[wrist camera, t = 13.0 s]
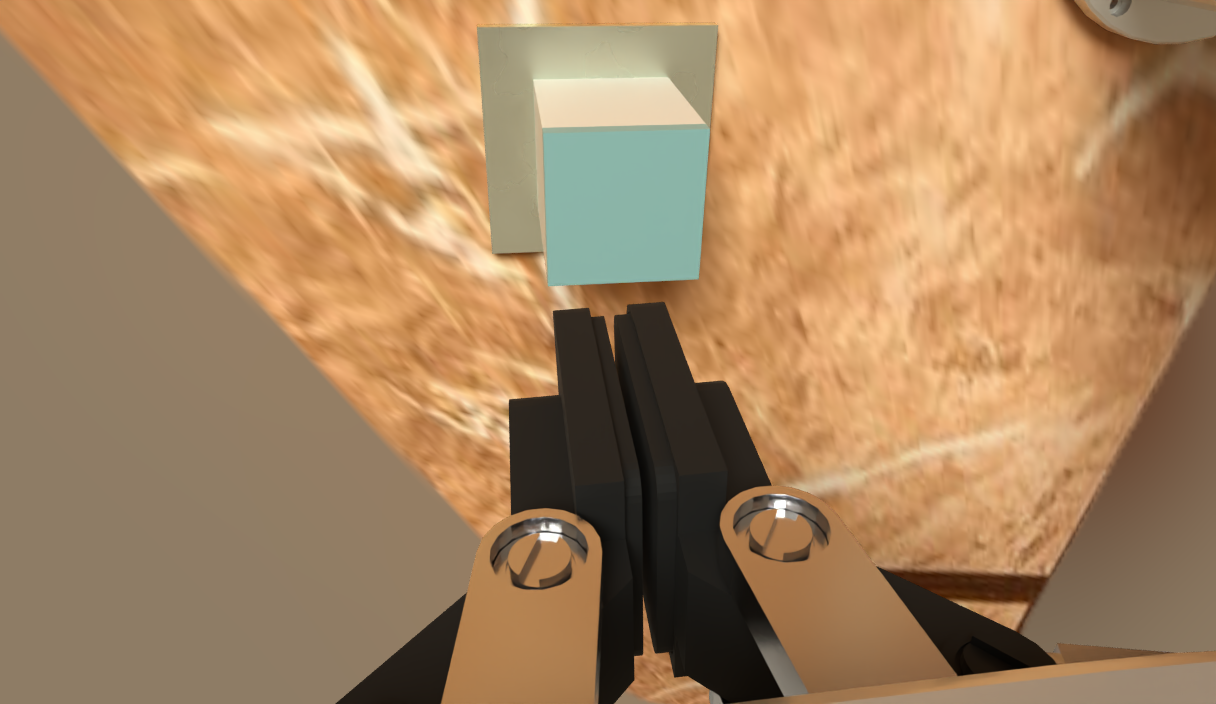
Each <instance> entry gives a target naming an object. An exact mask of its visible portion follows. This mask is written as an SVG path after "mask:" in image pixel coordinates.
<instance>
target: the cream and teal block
mask: <svg viewBox="0 0 1216 704" xmlns="http://www.w3.org/2000/svg"><path fill="white" fill-rule="evenodd" d="M533 89H534V116H535V143H536V170H537V197H538V213H539V221H540V228H541V236H542V244H543V251H544V259H545V266H546V274H547V282H548V286H563V285H585V284H606V283H628V282H650V281H672V280H693V279H699V268H700V255H701V242H702V229H703V216H704V203H705V189H706V176H707V163H708V150H709V137H710V128H709V127H708V126H707V125H706V123H705V122H704V121H703V120H702V119H701V117H700V116H699V115H698V114H697V112H696V111H695V110H694V109H693V107H692V106H691V105H690V104H689V102H688V101H687V100H686V99H685V98H684V96H683V95H682V94H681V93H680V91H679V90H678V89H677V88H676V86H675V85H674V84H673V83H672V81H671V80H670V79H669V78H668V77H649V78H593V79H537V80H533Z"/></svg>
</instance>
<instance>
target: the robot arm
mask: <svg viewBox="0 0 1216 704" xmlns="http://www.w3.org/2000/svg"><path fill="white" fill-rule="evenodd" d="M1074 1H1075V3H1076V4H1077V5H1078V6H1079V7H1080V9H1081V10H1082V11H1083V12H1084V14H1085V15H1086V16H1087V17H1089V18H1090V19H1092V20H1093V21H1094V22H1096V23H1097V24H1099V25H1100V26H1101V27H1103V28H1104V29H1106V30H1108V31H1110V32H1113V33H1116V34H1119V35H1121V36H1124V37H1127V38H1130V39H1134V40H1139V41H1143V42H1148V43H1152V44H1185V43H1190V42H1194V41H1199V40H1203V39H1208V38H1212V37H1215V36H1216V0H1074ZM553 320H554V335H555V348H556V362H557V376H558V390H559V395H555V396H543V397H532V398H521V399H509V433H510V483H511V516H509V517H507V518H505V519H504V520H502V521H500V522H499V523H497V524H496V525H494V526H493V527H492V528H491V529H490V530H489V531H488V532H487V534H486V535H485V536H484V537H483V538H482V541H481V543H480V545H479V547H478V550H477V552H476V556H475V561H474V565H473V569H472V573H471V578H470V582H469V587H468V591H467V593H466V594H465V595H463V596H462V597H461V598H460V599H459V600H458V601H456V602H455V603H454V604H453V605H452V606H450V607H449V608H448V609H447V610H446V611H445V612H443V613H442V614H441V615H440V616H439V617H437V618H436V619H435V620H434V621H433V622H431V623H430V624H429V625H428V626H427V627H426V628H424V629H423V630H422V631H421V632H420V633H419V634H417V635H416V636H415V637H414V638H413V639H411V640H410V641H409V642H408V643H407V644H406V645H404V646H403V647H402V648H401V649H400V650H398V651H397V652H396V653H395V654H394V655H392V656H391V657H390V658H389V659H388V660H387V661H385V662H384V663H383V664H382V665H381V666H379V668H377V669H376V670H375V671H374V672H372V673H371V674H370V675H369V676H368V677H366V678H365V679H364V680H363V681H362V682H361V683H359V684H358V685H357V686H356V687H355V688H354V689H352V690H351V691H350V692H349V693H348V694H346V695H345V696H344V697H343V698H342V699H340V700H339V701H338V702H337V703H336V704H614V703H615V702H616V701H617V700H618V698H619V697H620V696H621V695H622V694H623V693H624V691H625V690H626V689H627V688H628V687H629V686H630V684H631V683H632V682H633V681H634V656H640V655H643V598H644V603H645V608H646V613H647V618H648V623H649V628H650V633H651V639H652V644H653V648H654V651H655V653H656V654H657V653H665V652H669V655H670V660H671V664H672V669H673V673H674V678H675V677H683V676H689V677H690V678H692V679H694V680H695V681H697V682H698V683H700V684H701V685H703V686H705V687H706V688H708V689H709V690H710V691H709V700H710V704H1216V651H1204V652H1187V653H1173V652H1161V651H1149V650H1137V649H1124V648H1113V647H1101V646H1089V645H1077V644H1064V643H1057V644H1056V646H1055V649H1054V651H1053V653H1051V652H1045V651H1044V650H1043V649H1042V648H1040V647H1039V646H1038V645H1037V644H1036V643H1034V642H1033V641H1031V640H1029V639H1027V638H1026V637H1024V636H1022V635H1021V634H1019V633H1017V632H1016V631H1014V630H1012V629H1009V628H1007V627H1005V626H1003V625H1001V624H999V623H997V622H994V621H992V620H990V619H988V618H986V617H984V616H982V615H979V614H977V613H975V612H973V611H971V610H969V609H967V608H965V607H962V606H960V605H958V604H956V603H954V602H952V601H950V600H947V599H945V598H943V597H941V596H939V595H937V594H935V593H932V592H930V591H928V590H926V589H924V588H922V587H920V586H918V585H915V584H913V583H911V582H909V581H907V580H905V579H903V578H900V577H898V576H896V575H894V574H892V573H890V572H888V571H885V570H883V569H881V568H879V567H877V566H876V565H875V564H874V563H873V561H872V560H871V559H870V557H869V556H868V555H867V553H866V552H865V551H864V549H863V548H862V547H861V545H860V544H859V543H858V541H857V540H856V539H855V537H854V536H853V535H852V533H851V532H850V531H849V529H848V528H847V527H846V525H845V524H844V523H843V521H842V520H841V518H840V517H839V516H838V514H837V513H836V512H835V511H834V510H833V509H832V508H831V507H830V506H829V505H828V504H827V503H826V502H824V501H822V500H821V499H819V498H817V497H815V496H814V495H812V494H810V493H808V492H804V491H801V490H798V489H795V488H792V487H783V486H774V485H773V486H772V485H771V483H770V480H769V478H768V476H767V474H766V471H765V469H764V467H763V464H762V462H761V460H760V458H759V455H758V453H757V451H756V448H755V446H754V444H753V442H752V439H751V437H750V435H749V432H748V430H747V428H746V425H745V423H744V421H743V419H742V416H741V414H740V412H739V409H738V407H737V405H736V403H735V400H734V398H733V396H732V393H731V391H730V389H729V387H728V385H727V383H726V382H724V381H713V382H702V383H695V382H694V380H693V377H692V374H691V372H690V369H689V366H688V364H687V361H686V358H685V356H684V353H683V350H682V348H681V345H680V342H679V340H678V337H677V334H676V332H675V329H674V326H673V324H672V321H671V318H670V316H669V313H668V310H667V308H666V305H665V303H664V302H657V303H644V304H632V305H628V306H627V314H624V315H615V316H614V340H615V362H614V357H613V353H612V349H611V344H610V340H609V336H608V331H607V327H606V323H605V319H604V316H600V317H591V315H590V310H589V308H581V309H569V310H556V311H553Z"/></svg>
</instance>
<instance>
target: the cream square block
mask: <svg viewBox="0 0 1216 704" xmlns="http://www.w3.org/2000/svg"><path fill="white" fill-rule="evenodd" d="M717 34H718V25H717V24H716V23H587V24H477V35H478V49H479V64H480V79H481V94H482V109H483V123H484V138H485V153H486V168H487V183H488V197H489V212H490V227H491V242H492V254H496V253H522V252H544V251H543V244H542V236H541V228H540V221H539V213H538V197H537V170H536V143H535V116H534V89H533V80H537V79H593V78H649V77H668V78H669V79H670V80H671V81H672V83H673V84H674V85H675V86H676V88H677V89H678V90H679V91H680V93H681V94H682V95H683V96H684V98H685V99H686V100H687V101H688V102H689V104H690V105H691V106H692V107H693V109H694V110H695V111H696V112H697V114H698V115H699V116H700V117H701V119H702V120H703V121H704V122H705V123H706V125H707V126H708V127H709V128H710V123H711V111H712V98H713V85H714V72H715V59H716V47H717Z"/></svg>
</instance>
